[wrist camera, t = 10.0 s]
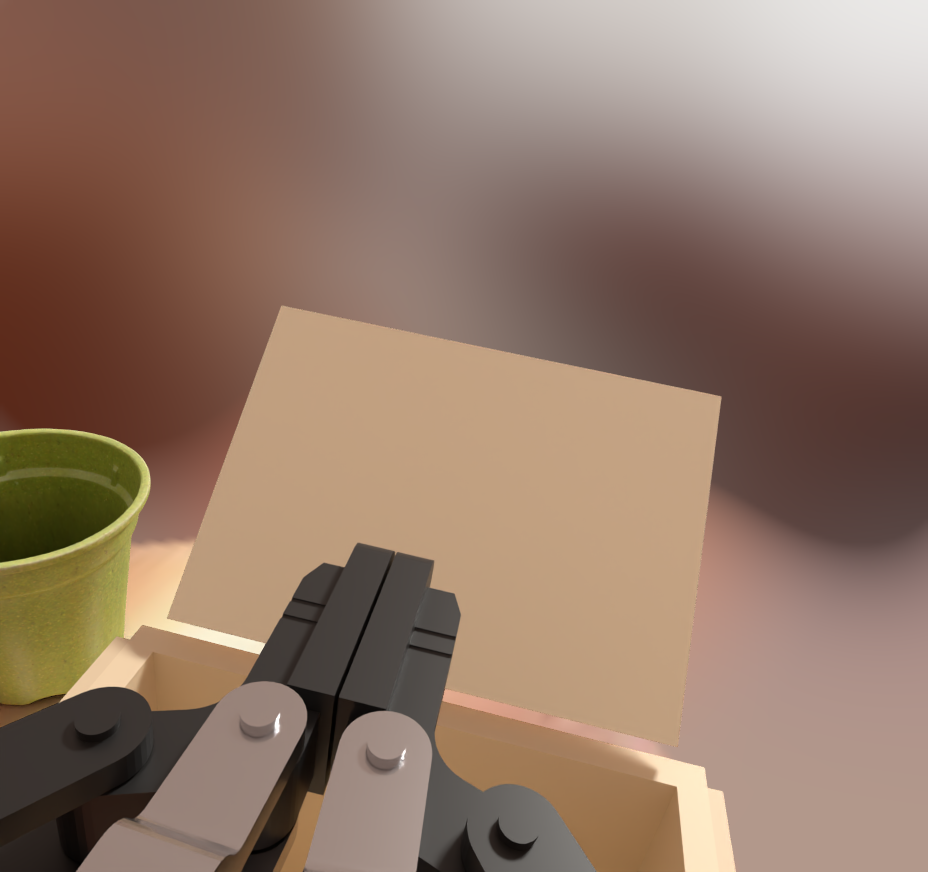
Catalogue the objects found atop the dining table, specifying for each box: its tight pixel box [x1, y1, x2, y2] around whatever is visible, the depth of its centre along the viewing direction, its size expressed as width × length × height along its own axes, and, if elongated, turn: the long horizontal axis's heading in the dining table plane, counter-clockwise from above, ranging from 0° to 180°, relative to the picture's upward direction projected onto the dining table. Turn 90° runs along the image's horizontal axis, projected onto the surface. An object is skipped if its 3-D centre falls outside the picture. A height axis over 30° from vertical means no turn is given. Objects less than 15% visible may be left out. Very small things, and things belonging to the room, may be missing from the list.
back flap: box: [167, 306, 721, 747], centre depth 21 cm, size 14×1×10 cm
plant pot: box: [0, 429, 150, 705], centre depth 29 cm, size 9×9×9 cm
